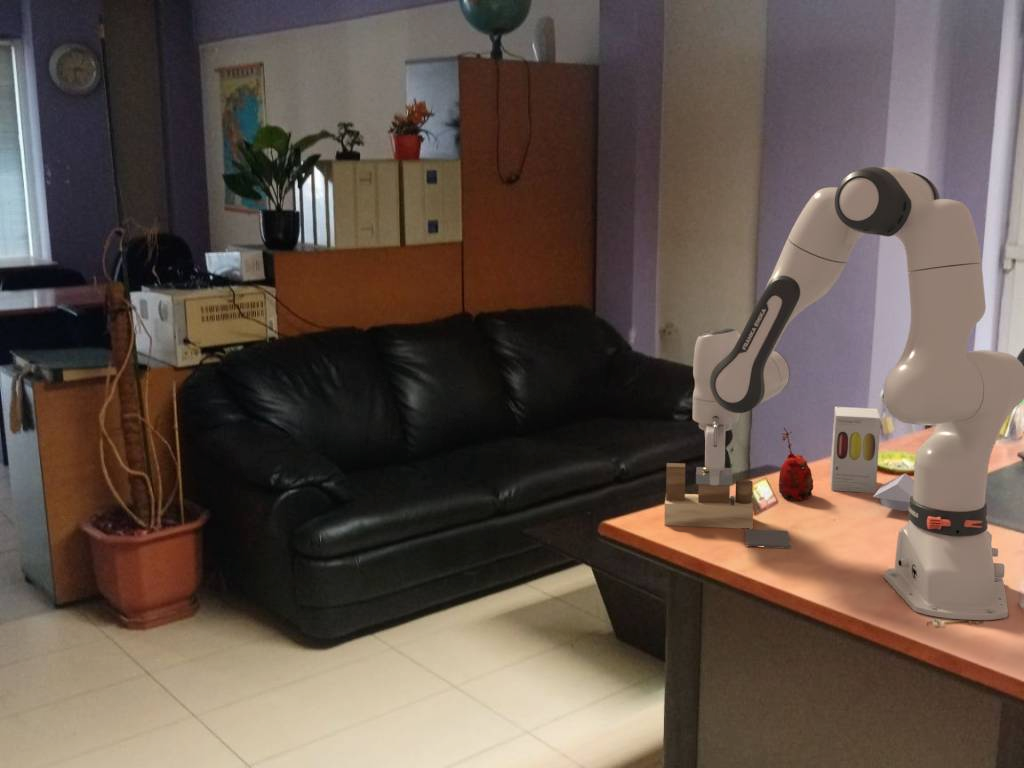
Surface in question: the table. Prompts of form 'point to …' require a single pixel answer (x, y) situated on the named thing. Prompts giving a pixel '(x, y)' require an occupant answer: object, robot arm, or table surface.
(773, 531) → the bench mat
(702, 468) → the lever cap
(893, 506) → the white house model
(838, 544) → the table surface
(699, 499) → the wooden block toy
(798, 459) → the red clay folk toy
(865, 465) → the supplement box
